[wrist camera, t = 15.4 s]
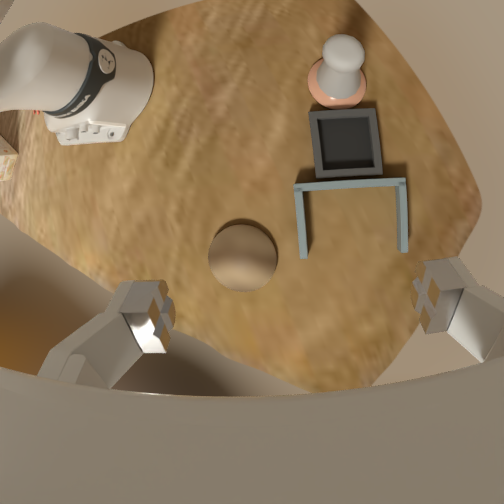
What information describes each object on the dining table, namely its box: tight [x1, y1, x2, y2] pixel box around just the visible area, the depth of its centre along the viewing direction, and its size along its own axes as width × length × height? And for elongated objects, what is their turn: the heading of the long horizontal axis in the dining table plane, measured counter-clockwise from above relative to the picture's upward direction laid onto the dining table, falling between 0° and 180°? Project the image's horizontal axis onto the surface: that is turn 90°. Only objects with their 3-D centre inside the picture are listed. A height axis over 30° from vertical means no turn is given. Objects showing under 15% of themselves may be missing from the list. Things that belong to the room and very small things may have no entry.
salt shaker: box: [316, 34, 365, 99], centre depth 31 cm, size 6×6×13 cm
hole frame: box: [308, 108, 383, 179], centre depth 39 cm, size 9×9×2 cm
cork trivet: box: [208, 224, 277, 292], centre depth 46 cm, size 10×10×1 cm
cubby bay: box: [294, 177, 408, 259], centre depth 41 cm, size 10×15×2 cm, turn 97°
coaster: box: [308, 58, 366, 110], centre depth 37 cm, size 8×8×1 cm
